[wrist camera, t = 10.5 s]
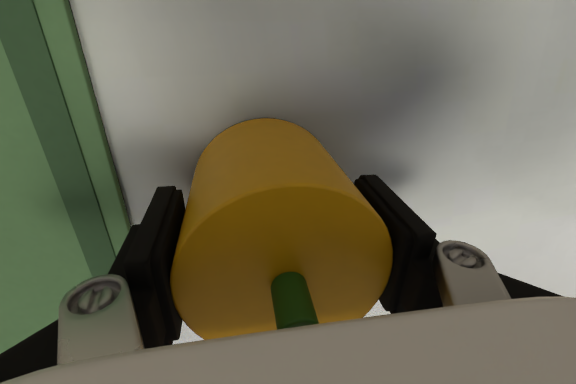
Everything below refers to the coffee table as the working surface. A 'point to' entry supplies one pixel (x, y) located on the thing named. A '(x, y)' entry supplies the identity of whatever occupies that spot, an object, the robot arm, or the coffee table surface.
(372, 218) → the yellow stemmed cylinder
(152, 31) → the coffee table surface
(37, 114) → the green grooved tray
